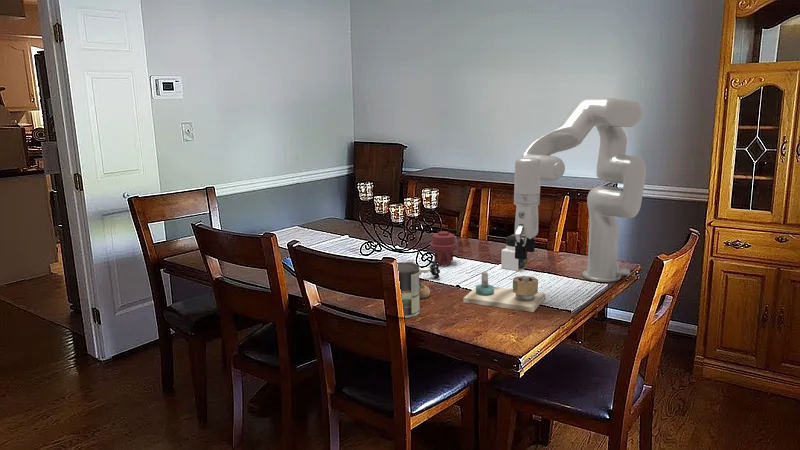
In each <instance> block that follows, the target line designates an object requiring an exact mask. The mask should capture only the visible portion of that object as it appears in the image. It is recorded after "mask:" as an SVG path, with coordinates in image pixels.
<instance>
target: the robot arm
mask: <svg viewBox="0 0 800 450" xmlns="http://www.w3.org/2000/svg"><path fill="white" fill-rule="evenodd" d="M642 115H643V109H642V106H641V104H640V103H639V102H638V101H637V100H634V99H627V98H626V99H623V98H615V97H586V98H582V99H580V100H578V102H577V103H576V104H575V106H574V107H573V108H572V110H571V111H570V112H569V113H568V115H567V116H566V117H565V119H563V121H562V122H561V123H560V125H558V127H557V128H555V129H552V130H551V131H548V132H547V133H546V134H544V135H542V136H540V137H539V138H536V140H535V141H533V142H532V143H531V144H530V145H529V146H528V148H527V149H526V150H525V151H524V153H523V154H522V156H521V157H519V158H516V159H515V162H514V163H515V164H514V180H513V181H514V186H513V187H514V189H513V192H514V193H513V205H515V206H516V208H515V219H514V235H515V237H516V239H515V241H516V242H515V259H522V260H525V259H526V252H527V253H535V249H536V247H535V246H536V236H537V235H538V233H539V206H540V203H541V202H540V201H541V200H540V199H541V196H540V195H541V182H542V181H543V182H555V181H557V180H560V179H561V178H562V177H563V176H564V174H565V170H566V166H565V163H564V161H563V160H562V158H560V157H558V156H555V155H554V154H557V153H560V152H564V151H569V150H570V149H573V148H576V147H579V146H580V145H581V144H582V143H583V141H584V139H585V138H586V137H587V136H588V134H589V133H590V132H591V130H592V129H593V128H594V127H595V128H596V130H597V132H598V134H599V149H598V158H597V163H596V171H595V173H596V177H597V179H598V180H600V181H602V182H605V183H610V184H617V185H618V184H620V185H622V186H623V187H622V188H621V187H615V186H606V185H598V186H595V187H593V188H591V189H590V190H589V191H588V194H587V197H586V200H587V201H586V203H587V204H586V205H587V209H588V219H589V221H588V222H589V223H588V224H589V225H588V226H589V227H588V228H589V231H588V249H587V251H588V252H587V269H586V270H584V271H582V277H583V278H584V279H587V280H589V281H593V282H594V281H595V282H602V283H611V282H616V281H619V280H620V279H621V278H622V276H630V274H631V270H630V269H628V268H627V267H625V268H624V267H621V266H619V263H618V246H619V244H618V243H619V229H620V228H619V224H618V222H617V219H616V217H617V218H623V219H632V218H635V217H636V216H637V215H638V214H639V213H640V210H641V206H642V202H643V194H644V189H645V188H644V187H645V182H646V177H647V168H646V164H645V161H644V160H643V159H642V157H640V156H638V155H631V154H630V155H629V154H628V155H627V145H628V139H627V135H626V132H625V130H624V129H623V128H633V127H635V126H637V125H638V124H639V123H640V121H641V120H642ZM522 239H523V240H522Z"/></svg>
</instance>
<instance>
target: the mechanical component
mask: <svg viewBox="0 0 800 450" xmlns="http://www.w3.org/2000/svg"><path fill="white" fill-rule="evenodd" d="M431 237H432V241H431V242H430V245H429V247H430V248H431V249H432V250H433V251H434V252H433V253H434V260H437V261H438V264H439V265H441V266H442V267H446V266H447V265H448V264H451V263H452V261H453V260H454V250H455V249H456V248H457V246H458V243H457V242H456V239H455V237H456V236H455V234H454V233H451V232H449V231H445V230H444V231H442V230H441V231H438V232H436V233H433V234H432V236H431ZM434 260H433V261H434Z"/></svg>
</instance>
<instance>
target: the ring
mask: <svg viewBox="0 0 800 450" xmlns="http://www.w3.org/2000/svg"><path fill="white" fill-rule="evenodd" d="M524 276H525V275H520V276H515V277H514V278H513V279H512V289H513V292H514V293H515V294H517V295H523V296H530V295H536V293H537V292H539V291H538V290H539V279H538V278H537V277H534V276H529V275H526V276H527V277H528V278H529V281H528V282H525V281H522V278H523V277H524Z"/></svg>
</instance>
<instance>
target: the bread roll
mask: <svg viewBox="0 0 800 450" xmlns="http://www.w3.org/2000/svg"><path fill="white" fill-rule="evenodd" d="M430 294H431V290H430V288H429V286H427V285H426V284H422V283H420V282H419V299H426V298H429V297H430V296H429V295H430Z"/></svg>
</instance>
